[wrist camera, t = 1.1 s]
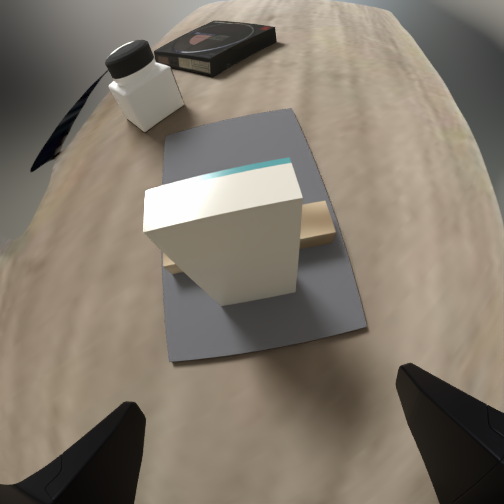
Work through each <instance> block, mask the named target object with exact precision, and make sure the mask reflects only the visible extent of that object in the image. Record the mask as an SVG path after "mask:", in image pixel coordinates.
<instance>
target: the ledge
mask: <svg viewBox="0 0 504 504" xmlns="http://www.w3.org/2000/svg"><path fill="white" fill-rule="evenodd" d="M335 233H336V231H335V228H334V225H333V222H332V219H331V216H330V213H329V210H328V207H327V204H326V201H320V202H314V203H309V204H303V205H302V219H301V233H300V247H299V249H304V248H309V247H314V246H319V245H324V244H329V243H332V242H333V239H334V236H335ZM163 267H164V268H166V269H167V270H168V271H169V272H170V273H171V274H177V273H182V272H183V271H182V270H181V269H180V268H179V267H178V266H177V265H176V264H175V263H174V262H173V261H172V260H171V259H170V258H169V257H168V256H167V255H166V254H165V253H164V252H163Z"/></svg>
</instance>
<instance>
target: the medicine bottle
mask: <svg viewBox="0 0 504 504" xmlns="http://www.w3.org/2000/svg"><path fill="white" fill-rule="evenodd" d="M105 64H106V66H107V68H108V70H109V72H110V74H111V76H112V78H113V79H114V82H112V83H111V84H109V89H110V90H111V92H112V94H113V96H114V98H115V99H116V101H117V103H118V105H119V106H120V108H121V110H122V111H123V113H124V115H125V117H126V118H127V119H128V120H130V121H131V122H132V123H133V124H135V125H136V126H137V127H139V128H140V129H141V130H142V131H144V132H146V131H148V130H149V129H150V128H152V127H153V126H154V125H156V124H157V123H159V122H160V121H161V120H163V119H164V118H166V117H167V116H168V115H170V114H171V113H173V112H174V111H176V110H177V109H179V108H180V107H182V106H183V105H184V101H183V99H182V96H181V93H180V91H179V88H178V85H177V83H176V80H175V78H174V75H173V72H172V70H171V67H170V66H167V65H163V64H160V63H157V62H156V61H155V58H154V56H153V53H152V51H151V48H150V46H149V44H148V42H147V41H145V40H136V41H132V42H130V43H127V44H125V45H123V46H121V47H119V48H118V49H116V50H115V51H113V52H112V53H111V54H110V55H109V57H108V58H107V59H106V62H105Z"/></svg>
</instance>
